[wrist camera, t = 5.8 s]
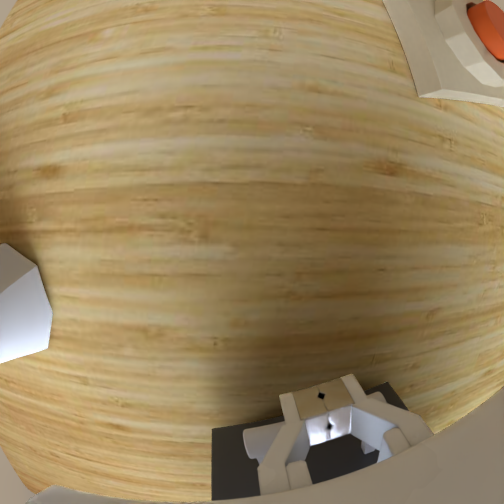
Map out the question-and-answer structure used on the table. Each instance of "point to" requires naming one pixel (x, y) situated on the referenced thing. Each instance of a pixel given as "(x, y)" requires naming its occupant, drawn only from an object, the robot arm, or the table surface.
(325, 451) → the cabinet drawer
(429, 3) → the block
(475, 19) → the button
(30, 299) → the flask
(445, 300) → the table surface
